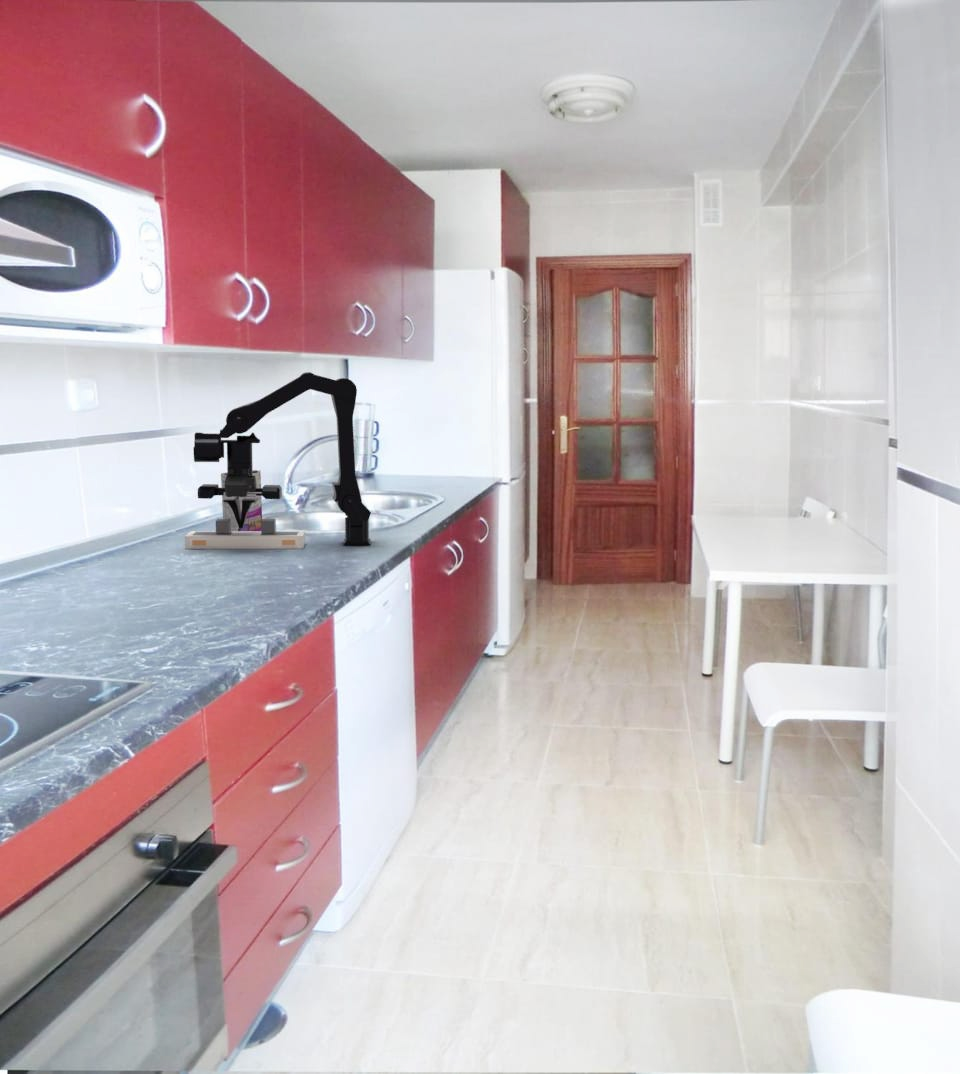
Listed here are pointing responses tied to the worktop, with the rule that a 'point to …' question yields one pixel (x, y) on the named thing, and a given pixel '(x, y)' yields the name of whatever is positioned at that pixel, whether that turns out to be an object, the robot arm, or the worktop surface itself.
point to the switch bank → (245, 540)
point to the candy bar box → (253, 514)
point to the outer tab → (223, 525)
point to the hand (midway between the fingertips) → (241, 527)
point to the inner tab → (268, 525)
